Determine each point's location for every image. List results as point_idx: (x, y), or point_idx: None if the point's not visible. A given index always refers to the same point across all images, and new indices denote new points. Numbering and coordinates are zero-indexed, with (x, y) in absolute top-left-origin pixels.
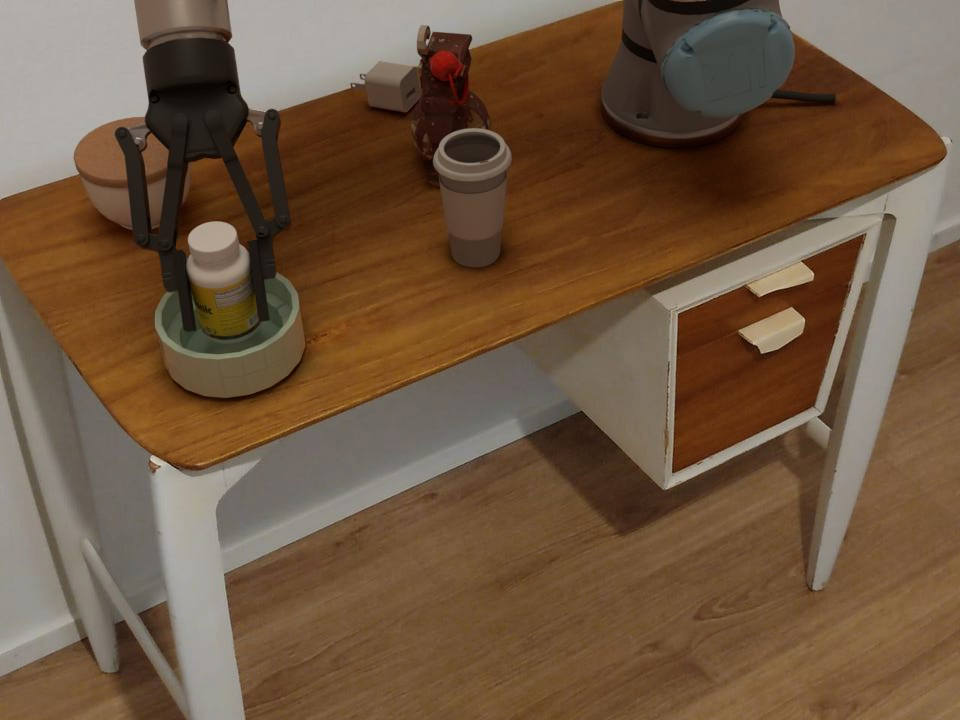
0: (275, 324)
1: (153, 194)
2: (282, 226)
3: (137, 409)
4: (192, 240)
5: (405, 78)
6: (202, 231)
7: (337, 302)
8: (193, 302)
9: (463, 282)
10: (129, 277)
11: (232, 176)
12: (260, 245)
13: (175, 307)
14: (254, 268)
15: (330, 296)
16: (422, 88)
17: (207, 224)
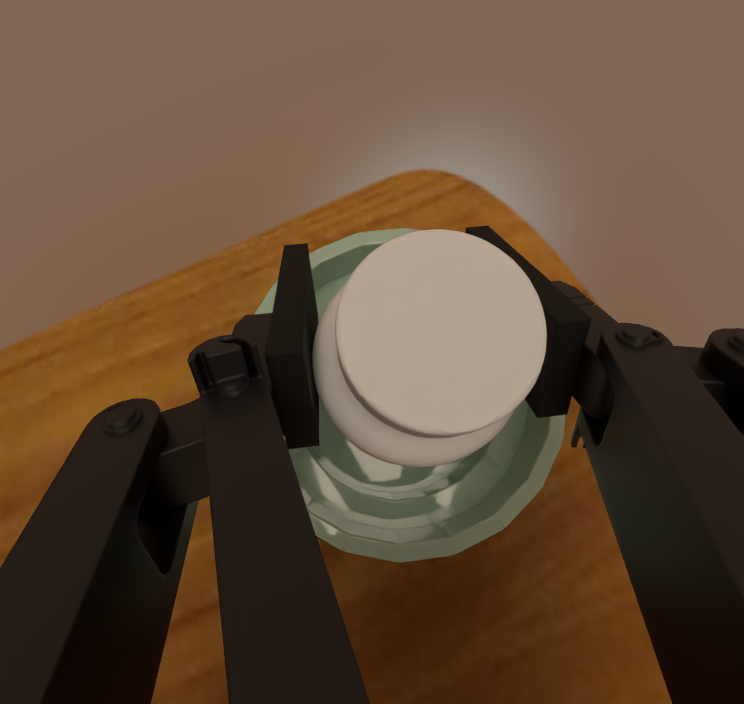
0: (320, 456)
1: None
2: (139, 400)
3: (540, 272)
4: (523, 305)
5: None
6: (490, 362)
7: (199, 529)
8: (488, 483)
9: None
10: (644, 653)
11: (335, 657)
12: (263, 371)
13: (524, 449)
14: (294, 301)
15: (213, 551)
16: None
17: (475, 409)
